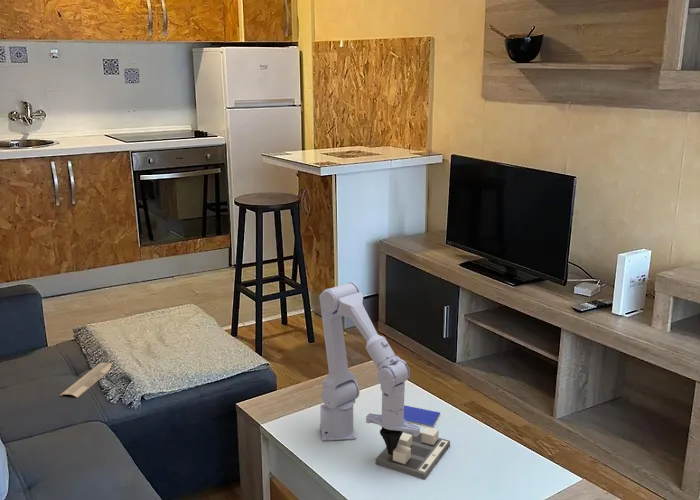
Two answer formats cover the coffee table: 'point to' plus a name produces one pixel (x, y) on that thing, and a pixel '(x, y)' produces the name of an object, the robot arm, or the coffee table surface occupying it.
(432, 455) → the switch bank
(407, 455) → the tab
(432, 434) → the tab
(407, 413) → the hard drive
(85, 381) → the tan wooden bar
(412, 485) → the coffee table surface
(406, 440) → the tab
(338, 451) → the coffee table surface
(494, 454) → the coffee table surface
